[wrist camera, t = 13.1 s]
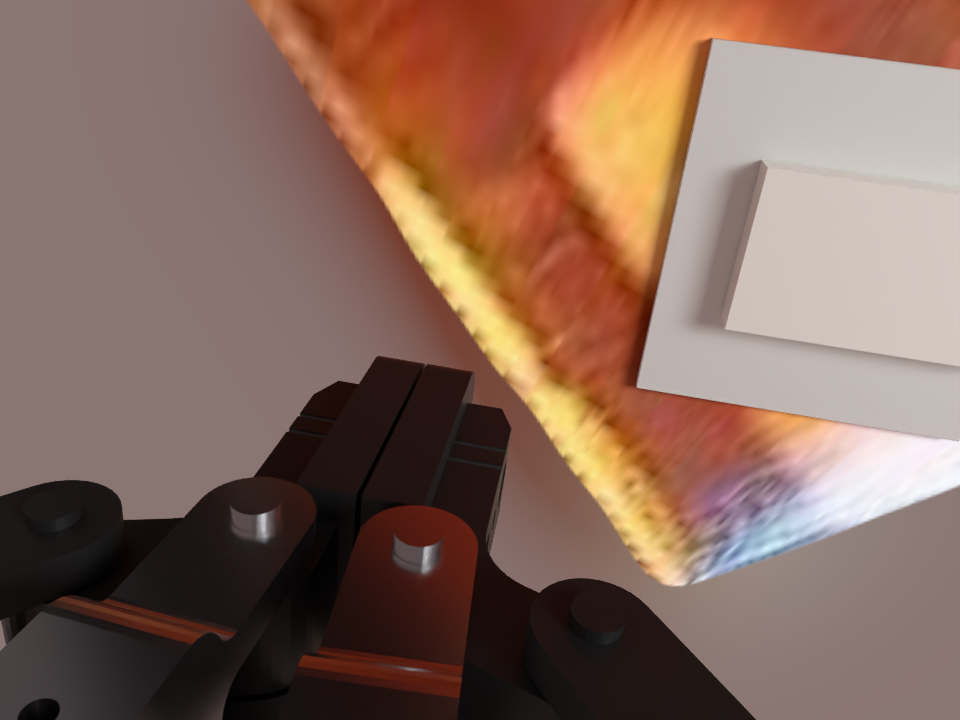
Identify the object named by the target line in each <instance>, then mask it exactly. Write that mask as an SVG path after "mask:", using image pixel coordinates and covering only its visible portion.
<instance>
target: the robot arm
mask: <svg viewBox="0 0 960 720" xmlns="http://www.w3.org/2000/svg"><path fill="white" fill-rule="evenodd" d="M474 380H475V374H474V372H472V371H465V370H460V369H454V368H447V367H442V366H436V365H430V364H428V365H427V366H425V364H423V363H417V362H411V361H405V360H399V359H394V358H387V357H382V356H377V357H376V359H375V360H374V362H373V363H372V365H371V366H370V368H369V369H368V371H367V373H366V374H365V376H364V377H363V379H362V380H361V382H360V384H354V383H348V382H342V381H337V382H336V383H334V384H332V385H330V386H328V387H326V388H325V389H323V390H321V391H319V392H318V393H316V394H314V395H313V396H312V398H311V399H310V400H309V402H308V403H307V405H306V406H305V407H304V409H303V410H302V411H301V413H300V417H299V416H298V417H297V418H296V420H295V421H294V422H293V424H292V425H291V427H290V429H289V432H286V433H285V435H284V436H283V437H282V439H281V440H280V442H279V443H278V445H277V446H276V447H275V448H274V450H273V451H272V453H271V454H270V455H269V457H268V458H267V459H266V461H265V462H264V463H263V465H262V466H261V468H260V469H259V470H258V472H257V473H256V475H255V476H254V477H251V478H244V479H239V480H234V481H231V482H228V483H226V484H223V485H221V486H218V487H217V488H215V489H213V490H212V491H210V492H208V493H207V494H206V495H205V496H204V497H203V498H202V499H201V500H200V501H199V502H198V503H197V504H196V505H195V506H194V507H193V508H192V509H191V510H190V511H189V512H188V513H187V514H186V516H185V517H184V518H172V519H147V520H146V519H144V520H123V513H122V505H121V501H120V499H119V498H118V496H117V494H115V493H114V492H113V491H112V490H111V489H109V488H107V487H105V486H103V485H100V484H98V483H93V482H89V481H79V480H65V481H54V482H49V483H44V484H40V485H36V486H32V487H29V488H26V489H23V490H19V491H16V492H13V493H10V494H7V495H3V496H0V620H1V623H2V627H3V632H4V637H5V642H6V646H5V647H4V648H3V649H2V650H1V651H0V720H756V719H755V718H754V717H753V716H752V715H751V714H750V713H749V712H748V711H747V710H746V709H745V708H744V707H743V705H742V704H741V703H740V702H739V701H738V700H737V699H736V698H735V697H734V696H733V695H732V694H731V693H730V692H729V691H728V690H727V689H726V688H725V687H724V686H723V685H722V684H721V683H720V682H719V681H718V680H717V678H716V677H715V676H714V675H713V674H712V673H711V672H710V671H709V670H708V669H707V668H706V667H705V666H704V665H703V664H702V663H701V662H700V661H699V660H698V659H697V658H696V657H695V655H694V654H693V653H692V652H690V650H689V649H688V648H687V647H686V646H685V645H684V644H683V643H682V642H681V641H680V640H679V639H678V638H677V637H676V636H675V635H674V633H672V631H671V630H670V629H669V628H668V627H667V626H666V625H665V624H664V623H663V622H662V621H661V620H660V619H659V618H658V617H657V616H656V615H655V614H654V613H653V612H652V611H651V610H650V609H649V607H648V606H646V605H645V604H644V603H643V602H642V601H641V600H640V599H639V598H637V597H636V596H635V595H633V594H632V593H630V592H628V591H626V590H625V589H623V588H621V587H618V586H616V585H613V584H611V583H607V582H604V581H600V580H594V579H583V578H576V579H567V580H563V581H559V582H556V583H554V584H552V585H549V586H548V587H546V588H545V589H543V590H542V591H541V592H540V593H538V592H536V591H534V590H532V589H529V588H527V587H525V586H523V585H521V584H520V583H518V582H516V581H514V580H513V579H511V578H510V577H508V576H507V575H506V574H505V573H504V572H502V571H501V570H500V569H499V568H498V567H497V565H496V564H495V563H494V562H493V560H492V558H491V556H490V555H489V554H490V550H491V546H492V542H493V537H494V533H495V528H496V524H497V519H498V515H499V510H500V503H501V496H502V490H503V483H504V476H505V469H506V462H507V456H508V448H509V442H510V435H511V427H510V425H509V423H508V421H507V419H506V417H505V414H504V412H503V410H502V409H500V408H494V407H488V406H482V405H477V404H472V400H473V392H474Z"/></svg>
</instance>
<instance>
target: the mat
mask: <svg viewBox="0 0 960 720" xmlns="http://www.w3.org/2000/svg"><path fill="white" fill-rule="evenodd" d="M762 160H768V161H775V162H783V163H790V164H797V165H804V166H811V167H818V168H826V169H833V170H840V171H847V172H854V173H862V174H869V175H876V176H883V177H890V178H897V179H905V180H912V181H919V182H926V183H933V184H940V185H948V186H955V187H960V69H953V68H945V67H937V66H929V65H921V64H913V63H906V62H898V61H890V60H882V59H874V58H866V57H858V56H850V55H842V54H834V53H826V52H818V51H811V50H803V49H795V48H787V47H779V46H771V45H763V44H755V43H747V42H739V41H731V40H724V39H716V38H712V39H711V44H710V48H709V53H708V57H707V62H706V66H705V71H704V76H703V80H702V85H701V89H700V94H699V98H698V103H697V107H696V112H695V117H694V121H693V126H692V130H691V135H690V139H689V144H688V148H687V153H686V158H685V162H684V167H683V171H682V176H681V180H680V185H679V189H678V194H677V199H676V203H675V208H674V212H673V217H672V221H671V226H670V230H669V235H668V240H667V244H666V249H665V253H664V258H663V262H662V267H661V271H660V276H659V281H658V285H657V290H656V294H655V299H654V303H653V308H652V312H651V317H650V321H649V326H648V331H647V335H646V340H645V344H644V349H643V353H642V358H641V362H640V367H639V372H638V376H637V381H636V388H642V389H648V390H654V391H660V392H666V393H672V394H678V395H684V396H690V397H696V398H702V399H708V400H714V401H720V402H726V403H732V404H737V405H743V406H749V407H755V408H761V409H767V410H773V411H779V412H785V413H791V414H797V415H803V416H809V417H815V418H821V419H827V420H833V421H839V422H845V423H851V424H857V425H863V426H869V427H875V428H881V429H887V430H893V431H899V432H905V433H911V434H917V435H923V436H929V437H935V438H941V439H947V440H953V441H959V439H960V367H959V366H953V365H947V364H940V363H934V362H928V361H921V360H915V359H909V358H903V357H896V356H890V355H884V354H877V353H871V352H865V351H859V350H852V349H846V348H840V347H833V346H827V345H821V344H815V343H808V342H802V341H796V340H789V339H783V338H777V337H771V336H764V335H758V334H752V333H745V332H739V331H733V330H727V329H725V328H724V324H723V321H722V317H721V314H722V310H723V306H724V302H725V298H726V294H727V291H728V287H729V283H730V279H731V275H732V272H733V268H734V264H735V260H736V256H737V252H738V249H739V245H740V241H741V237H742V233H743V229H744V226H745V222H746V218H747V214H748V210H749V207H750V203H751V199H752V195H753V191H754V187H755V184H756V180H757V176H758V172H759V168H760V165H761V161H762Z"/></svg>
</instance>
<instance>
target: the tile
mask: <svg viewBox="0 0 960 720" xmlns="http://www.w3.org/2000/svg"><path fill="white" fill-rule="evenodd" d="M721 317H722V321H723V324H724V328H725V329H727V330H733V331H739V332H745V333H752V334H758V335H764V336H771V337H777V338H783V339H789V340H796V341H802V342H808V343H815V344H821V345H827V346H833V347H840V348H846V349H852V350H859V351H865V352H871V353H877V354H884V355H890V356H896V357H903V358H909V359H915V360H921V361H928V362H934V363H940V364H947V365H953V366H959V367H960V187H955V186H948V185H940V184H933V183H926V182H919V181H912V180H905V179H897V178H890V177H883V176H876V175H869V174H862V173H854V172H847V171H840V170H833V169H826V168H818V167H811V166H804V165H797V164H790V163H783V162H775V161H768V160H762V161H761V165H760V168H759V172H758V176H757V180H756V184H755V187H754V191H753V195H752V199H751V203H750V207H749V210H748V214H747V218H746V222H745V226H744V229H743V233H742V237H741V241H740V245H739V249H738V252H737V256H736V260H735V264H734V268H733V272H732V275H731V279H730V283H729V287H728V291H727V294H726V298H725V302H724V306H723V310H722V314H721Z"/></svg>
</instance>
